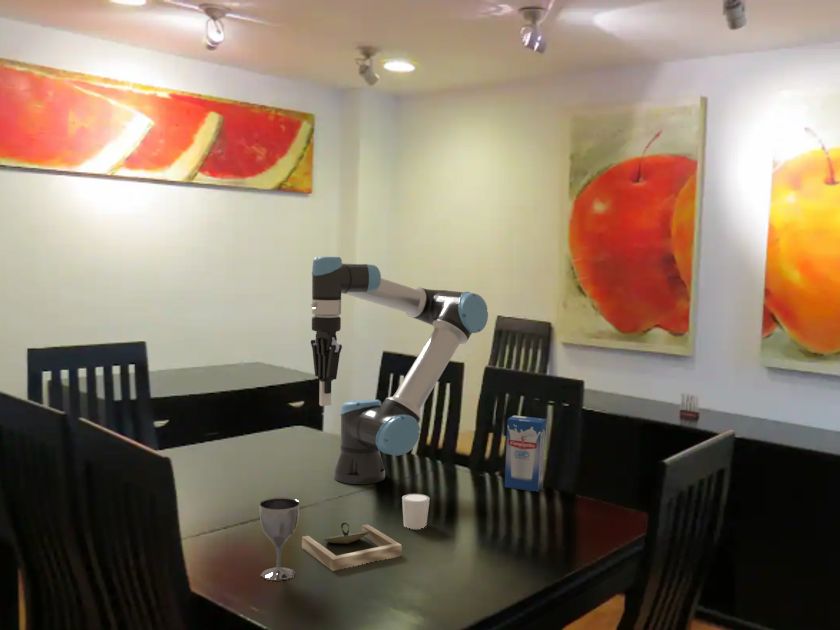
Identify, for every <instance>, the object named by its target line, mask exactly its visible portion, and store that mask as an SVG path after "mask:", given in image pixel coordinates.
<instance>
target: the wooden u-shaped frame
mask: <svg viewBox="0 0 840 630" xmlns="http://www.w3.org/2000/svg"><path fill="white" fill-rule="evenodd" d="M362 531H370V533H368V534H367V535H365V536H364V537H363V538H365V539H366V540H368V541H369V542H371V543H373V544H374V545H376V546H377V547H371V548H366V549H362V550H357V551H353V552H348V553H342V554H338V555H335V553H333V552H332V551H331V550H329V549H328V548H326V547H324V546H323V545H322V544H321V543H319V542H318V541H316V540H315V539H314V538H312V537H311V536H309V535H304V536H303V535H302V536H301V548H302V549H303V550H304V551H306V552H307V553H308V554H310V555H311V556H312V557H314V558H315V559H316V560H317V561H319V562H320V563H321V564H323V565H324V566H325V567H327V568H328V569H329V570H330V571H332V572H335V571H341V570H345V569H349V567H350V568H354V567H358V565H359V566H362V564H363V565H366V563H368V564H371V563H370V562H372V563H376V562H375V561H377V562H381V561H385V559H386V560H389V559H395V558H398V557H402V551H403V550H402V547H403V544H401V543H399V542H397V541H396V540H394V539H393V538H391V537H389V536H388V535H386V534H385V533H383V532H381V531H380V530H378V529H376V528H375V527H373V526H371V525H369V524H368V523H367V524H362V525H361V532H362ZM380 560H381V561H380ZM353 566H354V567H353ZM344 568H345V569H344ZM340 569H341V570H340Z"/></svg>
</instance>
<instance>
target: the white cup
mask: <svg viewBox="0 0 840 630" xmlns="http://www.w3.org/2000/svg"><path fill="white" fill-rule="evenodd" d="M401 499H402V500H401V502H402V504H401V506H402V517H403V518H402V521H403V527H404V528H406V527H407V529H409V528H410V530H422V529H421V528H423V529H425V528H426V527H427V524H428V523H427V522H428V515H429V507H430V499H431V498H430V497H429V496H428V495H427V494H426V495H425V494H422V493H408V494H405V495H403V496H402V497H401ZM425 526H426V527H425ZM424 527H425V528H424Z"/></svg>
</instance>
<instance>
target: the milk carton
mask: <svg viewBox="0 0 840 630" xmlns="http://www.w3.org/2000/svg"><path fill="white" fill-rule="evenodd" d="M506 426H507V427H506V445H505V446H506V448H505V449H506V450H505V469H504V488H508V489H514V488H515V490H516V489H517V490H522V491H530V492H535V491H536V493H538V492H539V491H540V490H541V489H542V488H543V487H544V471H545V470H544V469H545V468H544V467H545V449H546V429H547V428H546V426H547V419H546V418H541V417H540V418H539V417H532V416H531V417H530V416H523V415H521V416H520V415H512V416H510V417H509V418H507V425H506Z"/></svg>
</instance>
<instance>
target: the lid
mask: <svg viewBox="0 0 840 630" xmlns="http://www.w3.org/2000/svg"><path fill="white" fill-rule="evenodd" d="M345 525H347V528H348V529H347V532H345V531H344V530H343V528H344V526H345ZM340 528H341V532H342V534H338V535H334V536H329V537H324V538H323V541H324V542H328V543H331V544H332V543H333V544H346V545H348V544H350V543H352V542H355V541H358V540H360V539H362V538H365V537H364V536H365V535H367V534H368V533H370V531H362V530H361V531H357V532H350V526H349V523H347V522H342V523H341V525H340Z"/></svg>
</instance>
